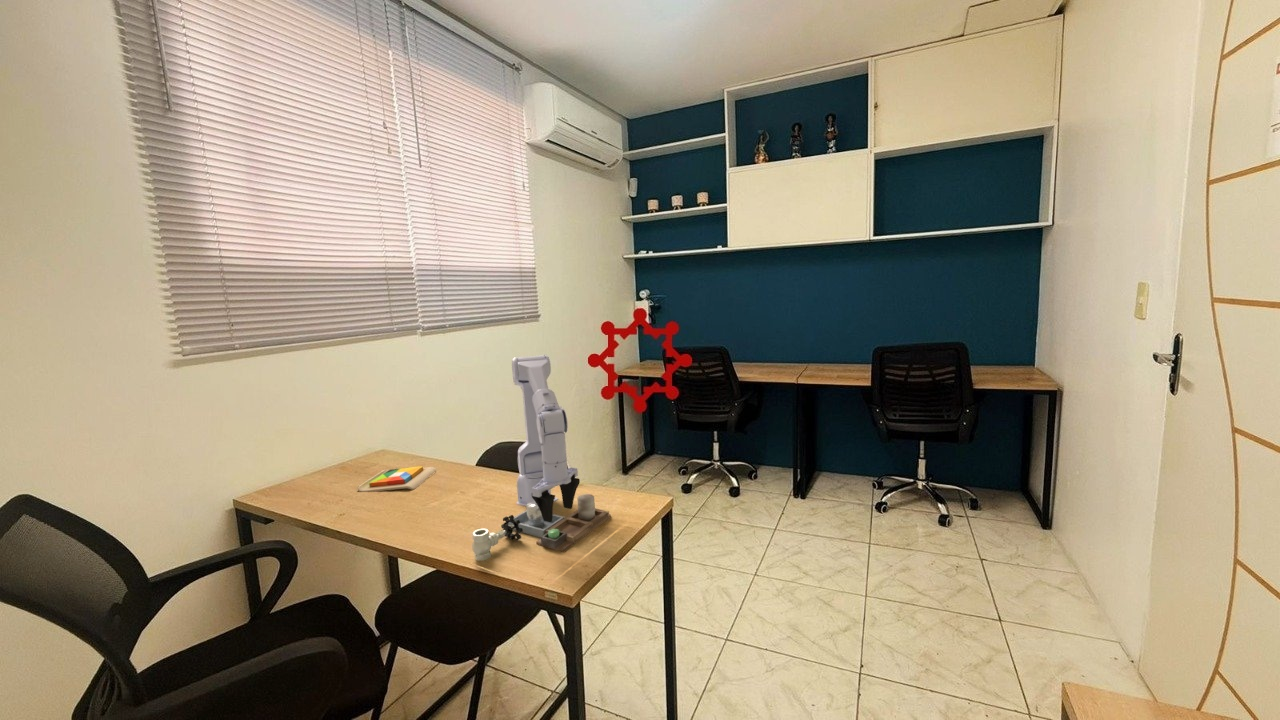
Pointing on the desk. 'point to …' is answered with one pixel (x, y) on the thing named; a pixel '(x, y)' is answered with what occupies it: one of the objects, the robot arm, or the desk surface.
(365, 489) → the wooden puzzle
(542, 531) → the tote
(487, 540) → the valve
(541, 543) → the brown compartment tray
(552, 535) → the button
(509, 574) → the desk surface
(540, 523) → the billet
